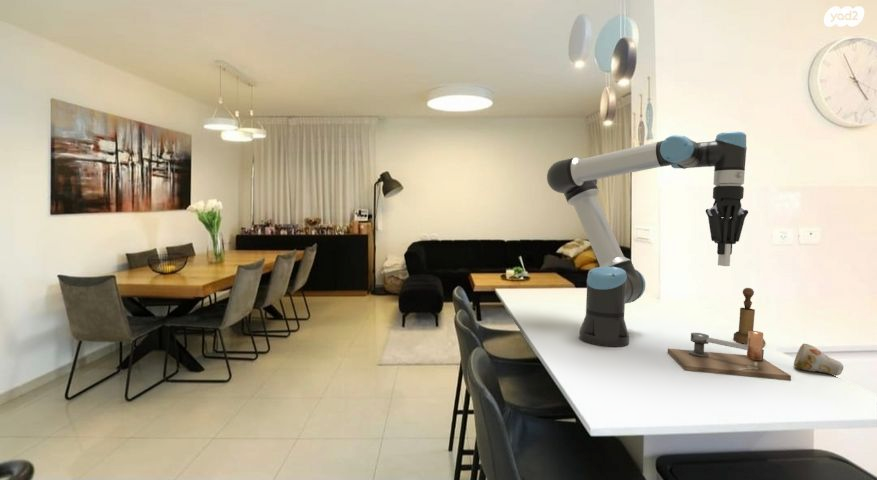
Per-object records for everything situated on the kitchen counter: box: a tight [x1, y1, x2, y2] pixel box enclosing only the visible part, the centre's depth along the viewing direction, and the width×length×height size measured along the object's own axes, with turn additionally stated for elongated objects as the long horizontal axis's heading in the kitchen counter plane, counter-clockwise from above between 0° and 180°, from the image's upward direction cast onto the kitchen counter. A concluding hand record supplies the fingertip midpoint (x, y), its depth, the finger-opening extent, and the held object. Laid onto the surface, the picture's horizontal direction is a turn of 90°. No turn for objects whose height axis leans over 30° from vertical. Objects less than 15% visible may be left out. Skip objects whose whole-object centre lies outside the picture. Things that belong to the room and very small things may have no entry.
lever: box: [690, 330, 764, 360], centre depth 119 cm, size 17×4×7 cm, turn 43°
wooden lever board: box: [667, 338, 792, 381], centre depth 119 cm, size 24×16×8 cm, turn 77°
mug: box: [793, 343, 844, 377], centre depth 116 cm, size 8×10×10 cm
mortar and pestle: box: [732, 287, 756, 345], centre depth 143 cm, size 7×6×18 cm
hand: (723, 265), depth 129 cm, fingers closed
